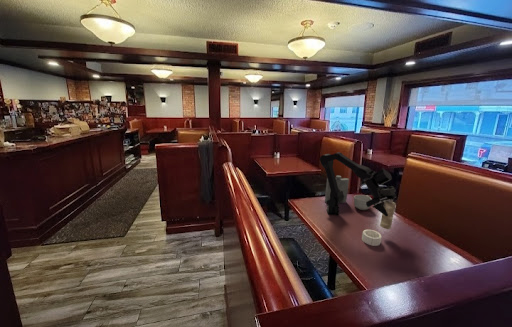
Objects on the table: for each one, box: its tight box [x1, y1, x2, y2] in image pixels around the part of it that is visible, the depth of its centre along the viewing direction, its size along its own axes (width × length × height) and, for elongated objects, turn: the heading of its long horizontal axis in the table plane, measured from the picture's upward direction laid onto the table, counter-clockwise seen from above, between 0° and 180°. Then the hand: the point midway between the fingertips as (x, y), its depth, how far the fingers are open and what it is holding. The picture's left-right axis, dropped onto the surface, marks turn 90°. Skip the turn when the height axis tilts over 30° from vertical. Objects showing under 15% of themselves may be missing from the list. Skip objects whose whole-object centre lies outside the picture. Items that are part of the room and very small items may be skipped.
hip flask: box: [324, 175, 350, 204], centre depth 161 cm, size 16×4×20 cm, turn 95°
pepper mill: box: [379, 199, 396, 230], centre depth 118 cm, size 5×5×16 cm
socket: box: [361, 229, 382, 247], centre depth 117 cm, size 8×8×4 cm
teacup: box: [353, 194, 372, 211], centre depth 154 cm, size 14×11×8 cm
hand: (390, 215), depth 117 cm, fingers closed on pepper mill, 5 cm apart
